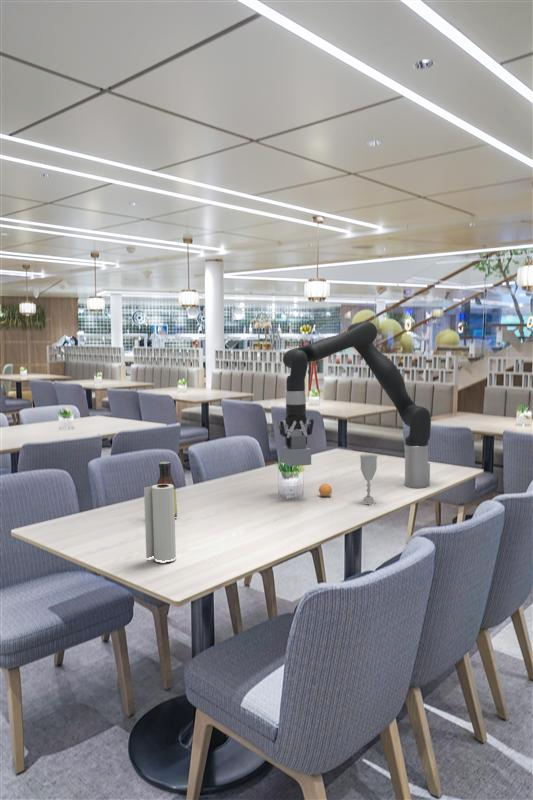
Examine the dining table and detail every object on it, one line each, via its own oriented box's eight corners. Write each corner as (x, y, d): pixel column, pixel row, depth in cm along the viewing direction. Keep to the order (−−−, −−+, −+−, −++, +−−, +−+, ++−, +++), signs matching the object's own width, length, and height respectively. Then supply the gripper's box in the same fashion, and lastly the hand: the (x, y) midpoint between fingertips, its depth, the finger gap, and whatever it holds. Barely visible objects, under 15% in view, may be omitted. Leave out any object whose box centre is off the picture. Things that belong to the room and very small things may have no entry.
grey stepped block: (302, 460, 242) (302, 432, 241) (311, 464, 234) (311, 435, 233) (282, 462, 239) (281, 434, 238) (290, 466, 231) (289, 437, 230)
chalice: (377, 506, 226) (377, 457, 225) (358, 505, 228) (358, 457, 226) (378, 501, 234) (378, 454, 232) (359, 500, 235) (359, 453, 233)
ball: (328, 494, 245) (328, 481, 244) (333, 497, 240) (333, 484, 240) (316, 495, 243) (316, 483, 243) (322, 498, 238) (321, 485, 238)
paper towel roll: (180, 558, 175) (177, 483, 173) (168, 565, 170) (166, 488, 168) (158, 555, 178) (156, 481, 176) (146, 562, 172) (143, 486, 170)
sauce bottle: (180, 517, 216) (178, 461, 214) (172, 522, 210) (170, 464, 208) (163, 515, 218) (161, 460, 216) (154, 520, 212) (153, 463, 210)
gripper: (309, 401, 240) (309, 444, 242) (274, 402, 235) (275, 446, 237) (317, 402, 233) (317, 447, 235) (281, 404, 228) (281, 449, 230)
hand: (296, 446), depth 236 cm, fingers closed on grey stepped block, 5 cm apart
